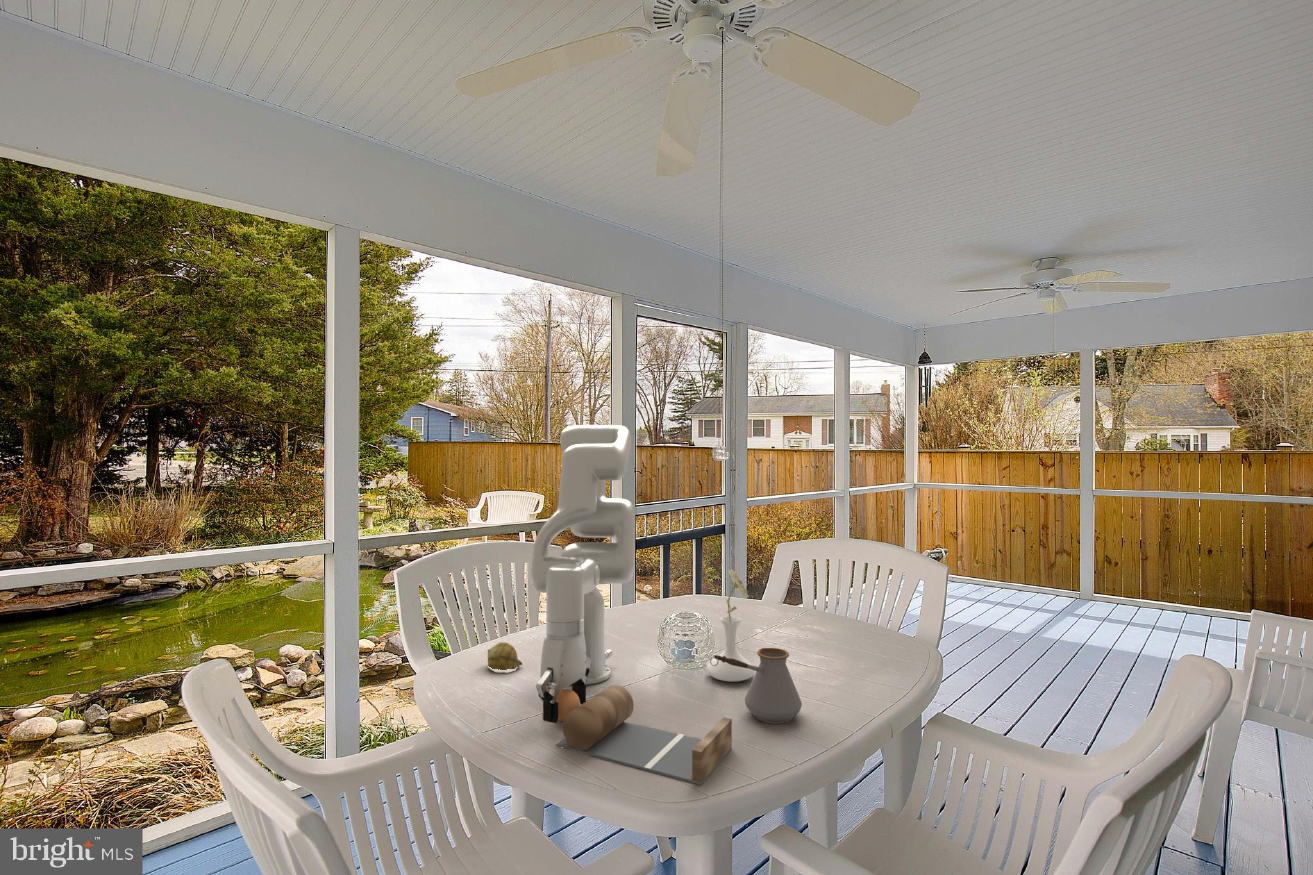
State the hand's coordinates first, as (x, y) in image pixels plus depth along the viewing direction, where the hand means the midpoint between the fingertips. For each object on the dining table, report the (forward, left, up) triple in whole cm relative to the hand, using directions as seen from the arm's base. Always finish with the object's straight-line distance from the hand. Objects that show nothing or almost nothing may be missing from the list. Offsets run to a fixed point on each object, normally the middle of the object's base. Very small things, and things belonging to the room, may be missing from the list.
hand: (565, 712), depth 130 cm
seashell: (-18, -31, -2) cm, 36 cm away
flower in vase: (-38, +21, -2) cm, 43 cm away
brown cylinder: (+3, +10, -2) cm, 11 cm away
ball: (0, 0, +2) cm, 2 cm away
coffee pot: (-17, +34, -2) cm, 38 cm away
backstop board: (+3, +33, -2) cm, 33 cm away
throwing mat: (+3, +19, -2) cm, 20 cm away
